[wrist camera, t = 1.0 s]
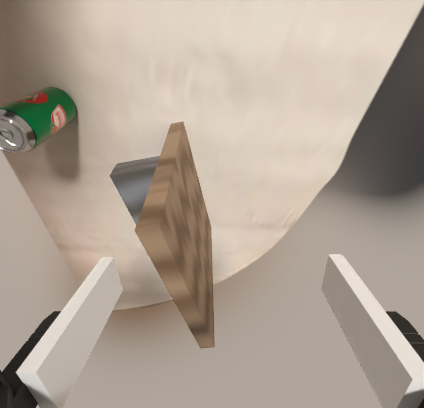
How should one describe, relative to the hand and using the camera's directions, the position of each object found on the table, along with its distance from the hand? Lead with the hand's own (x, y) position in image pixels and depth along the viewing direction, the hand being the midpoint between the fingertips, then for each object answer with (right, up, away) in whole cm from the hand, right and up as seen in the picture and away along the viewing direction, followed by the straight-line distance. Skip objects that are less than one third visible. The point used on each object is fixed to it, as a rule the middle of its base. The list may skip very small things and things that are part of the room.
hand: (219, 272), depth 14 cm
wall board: (-10, +7, +30) cm, 32 cm away
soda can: (-23, +19, +20) cm, 37 cm away
